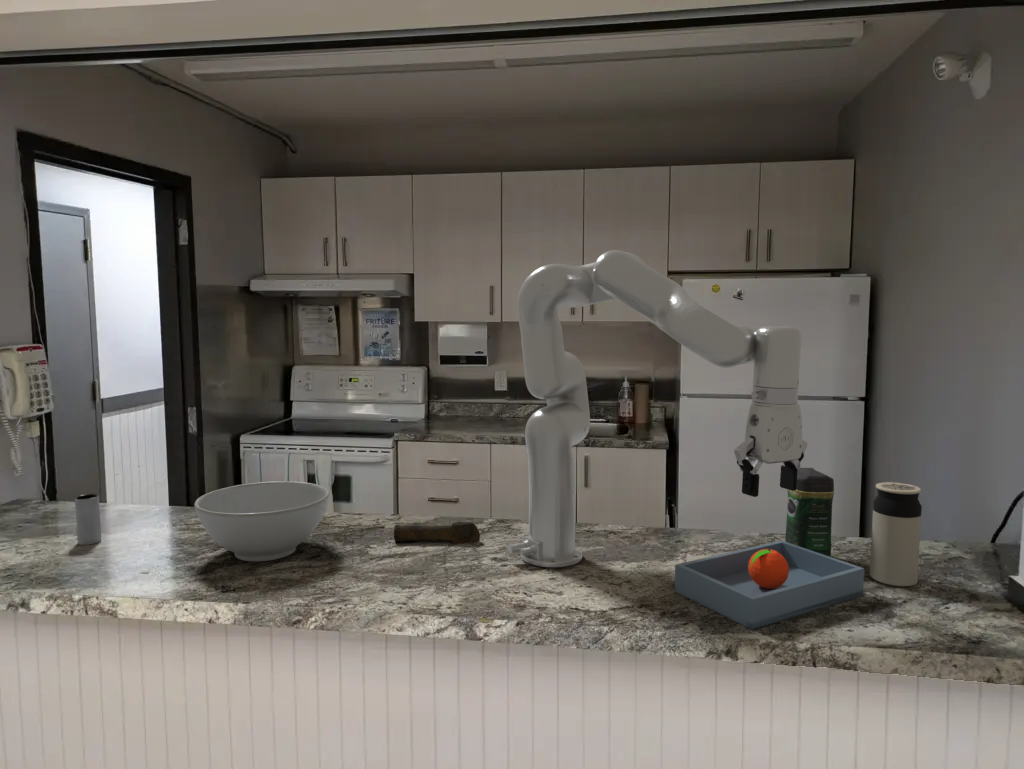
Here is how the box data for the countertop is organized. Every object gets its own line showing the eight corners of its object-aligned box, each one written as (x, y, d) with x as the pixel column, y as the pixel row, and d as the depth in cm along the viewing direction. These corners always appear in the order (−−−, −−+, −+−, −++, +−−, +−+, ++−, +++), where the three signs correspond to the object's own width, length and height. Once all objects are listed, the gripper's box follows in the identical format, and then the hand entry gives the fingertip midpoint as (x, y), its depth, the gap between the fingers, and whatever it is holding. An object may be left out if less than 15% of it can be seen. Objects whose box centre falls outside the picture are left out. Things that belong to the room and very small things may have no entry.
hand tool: (392, 545, 155) (392, 524, 155) (396, 539, 159) (396, 519, 158) (477, 547, 154) (477, 526, 153) (480, 541, 158) (480, 521, 157)
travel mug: (922, 589, 129) (927, 493, 127) (874, 585, 131) (878, 490, 129) (911, 574, 136) (916, 483, 135) (866, 570, 139) (870, 480, 137)
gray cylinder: (105, 540, 157) (102, 495, 156) (84, 546, 154) (81, 500, 152) (94, 537, 160) (92, 492, 159) (73, 542, 156) (70, 497, 155)
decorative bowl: (326, 527, 167) (325, 477, 166) (335, 565, 142) (333, 506, 140) (203, 539, 158) (201, 486, 157) (189, 581, 133) (186, 519, 132)
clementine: (765, 599, 122) (766, 559, 122) (735, 585, 128) (736, 547, 128) (796, 590, 126) (798, 551, 125) (766, 577, 132) (767, 540, 131)
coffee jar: (836, 566, 141) (841, 475, 139) (797, 566, 141) (800, 475, 139) (816, 550, 150) (820, 464, 149) (779, 550, 151) (782, 464, 149)
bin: (752, 629, 113) (753, 599, 112) (674, 591, 128) (675, 564, 128) (862, 595, 126) (864, 568, 126) (780, 564, 142) (781, 540, 141)
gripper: (756, 401, 116) (751, 503, 118) (825, 396, 125) (819, 491, 126) (722, 396, 123) (718, 492, 125) (790, 392, 131) (785, 482, 133)
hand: (769, 491), depth 126 cm, fingers open, 9 cm apart
